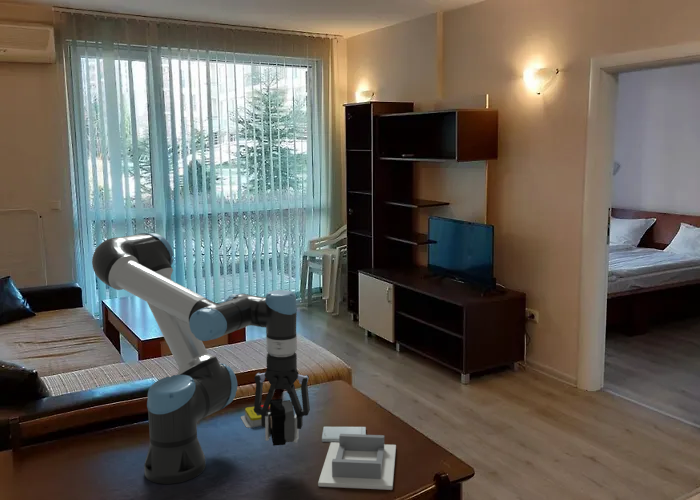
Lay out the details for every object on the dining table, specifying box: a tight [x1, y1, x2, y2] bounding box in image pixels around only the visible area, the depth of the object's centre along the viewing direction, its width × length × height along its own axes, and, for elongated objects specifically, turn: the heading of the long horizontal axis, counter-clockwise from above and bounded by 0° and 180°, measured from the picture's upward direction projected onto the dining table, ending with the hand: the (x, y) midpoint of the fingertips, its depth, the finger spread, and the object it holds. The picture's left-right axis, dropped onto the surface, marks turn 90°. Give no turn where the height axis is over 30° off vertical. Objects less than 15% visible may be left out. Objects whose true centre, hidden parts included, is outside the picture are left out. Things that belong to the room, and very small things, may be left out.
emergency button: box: [240, 404, 270, 429], centre depth 194 cm, size 9×4×15 cm
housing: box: [317, 434, 397, 491], centre depth 163 cm, size 18×22×5 cm
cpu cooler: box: [270, 398, 295, 447], centre depth 161 cm, size 10×6×10 cm, turn 12°
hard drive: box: [321, 426, 367, 443], centre depth 182 cm, size 2×8×12 cm
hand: (282, 439), depth 162 cm, fingers closed on cpu cooler, 7 cm apart
